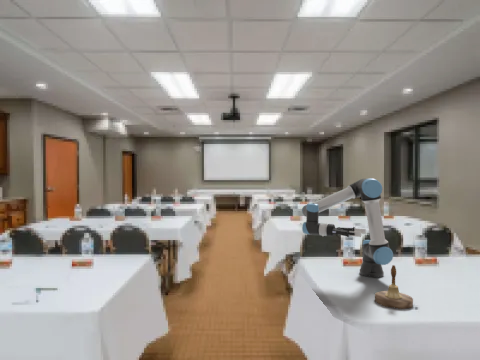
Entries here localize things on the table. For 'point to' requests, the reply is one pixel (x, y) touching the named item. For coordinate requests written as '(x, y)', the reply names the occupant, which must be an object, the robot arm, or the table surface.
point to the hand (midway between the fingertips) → (363, 232)
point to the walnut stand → (394, 300)
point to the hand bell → (393, 286)
